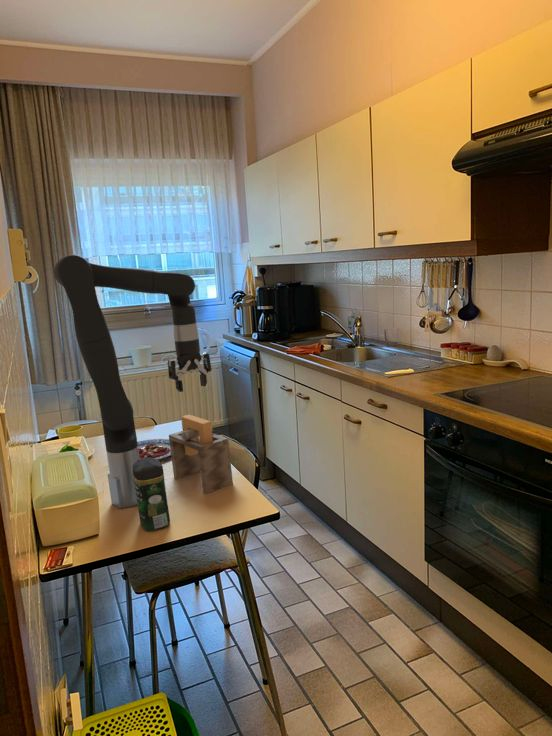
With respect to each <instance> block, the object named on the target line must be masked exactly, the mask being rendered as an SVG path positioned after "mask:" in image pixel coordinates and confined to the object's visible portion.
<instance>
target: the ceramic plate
mask: <svg viewBox="0 0 552 736" xmlns="http://www.w3.org/2000/svg"><path fill="white" fill-rule="evenodd" d="M137 444H138V451H139V459H143V458H148V457H152V458H154V459H157V460H158V461H160V460H161V459H164V458H168V457H170V456H171V449H170V441H169V438H168V439H167V438H153V439H144V440H143V439H142V440H139V441H138V440H137ZM159 446H162V447H159ZM143 447H145V448H144V449H141V448H143Z"/></svg>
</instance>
